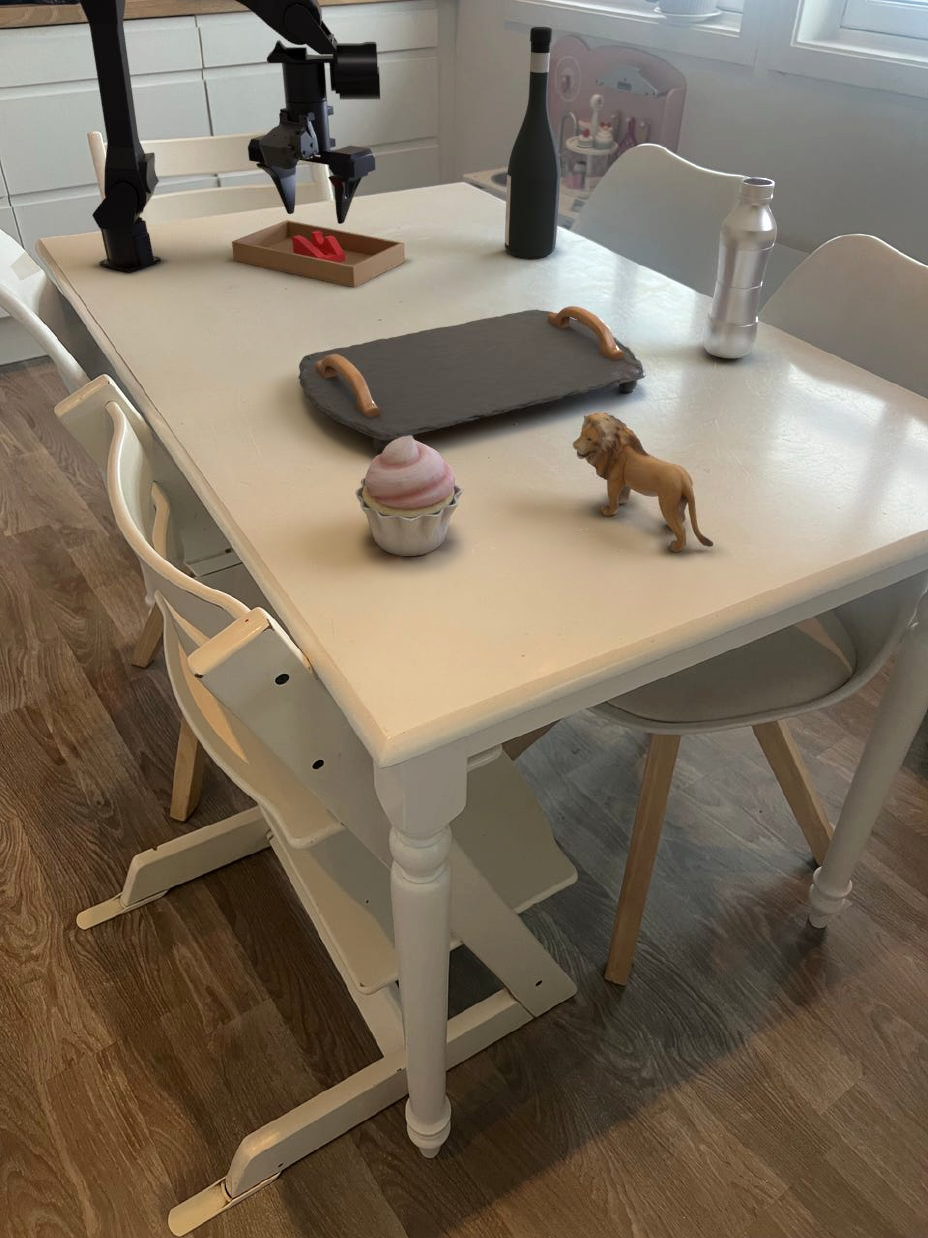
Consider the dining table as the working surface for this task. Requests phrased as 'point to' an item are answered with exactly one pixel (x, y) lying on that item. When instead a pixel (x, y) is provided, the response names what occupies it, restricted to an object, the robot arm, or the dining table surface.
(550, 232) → the wine bottle
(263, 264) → the cardboard box
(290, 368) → the dining table surface
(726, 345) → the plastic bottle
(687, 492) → the lion figurine
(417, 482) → the cupcake
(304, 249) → the bracket
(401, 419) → the serving tray
